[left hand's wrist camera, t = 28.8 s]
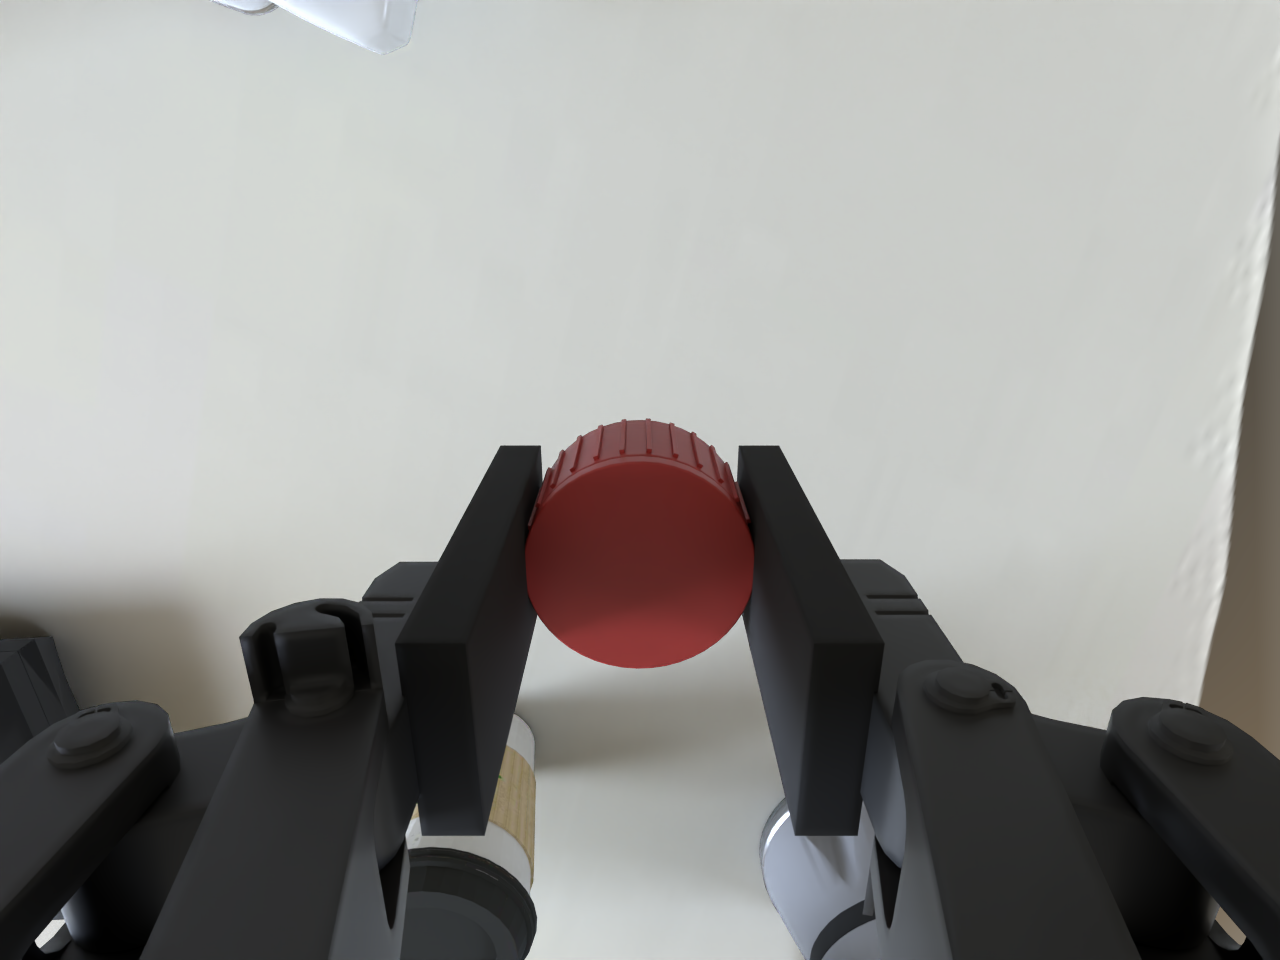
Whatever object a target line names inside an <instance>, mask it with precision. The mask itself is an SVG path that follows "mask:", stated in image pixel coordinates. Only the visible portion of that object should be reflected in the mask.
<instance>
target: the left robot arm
mask: <svg viewBox="0 0 1280 960" xmlns="http://www.w3.org/2000/svg"><path fill="white" fill-rule="evenodd" d="M737 482H738V484H739V487H740V490H741V493H742V496H743V499H744V502H745V505H746V508H747V512H748V515H749V518H750V521H751V523H748V527H749V530H750V533H751V536H752V540H753V543H754V568H753V584H752V593H751V596H750V599H749V601H748V603H747V605H746V607H745V609H744V611H743V613H742V616H743V620H744V625H745V629H746V633H747V637H748V641H749V646H750V650H751V654H752V658H753V662H754V667H755V671H756V675H757V679H758V683H759V688H760V692H761V696H762V700H763V704H764V709H765V713H766V717H767V721H768V725H769V730H770V734H771V738H772V742H773V746H774V751H775V755H776V759H777V763H778V767H779V772H780V776H781V780H782V784H783V788H784V793H785V798H784V799H783V800H782V801H781V802H780V803H779V805H778V806H777V807H776V808H775V809H774V811H773V812H772V814H771V815H770V817H769V819H768V821H767V823H766V825H765V827H764V830H763V832H762V836H761V841H760V862H761V867H762V873H763V879H764V883H765V887H766V889H767V892H768V894H769V896H770V899H771V901H772V903H773V905H774V906H775V908H776V910H777V912H778V913H779V914H780V916H781V918H782V920H783V922H784V923H785V925H786V927H787V929H788V931H789V932H790V934H791V936H792V938H793V939H794V941H795V943H796V945H797V946H798V948H799V950H800V951H801V953H802V955H803V956H804V958H805V960H1280V760H1279V759H1277V758H1276V757H1275V756H1274V755H1273V754H1272V753H1270V752H1269V751H1268V750H1267V749H1266V748H1264V747H1263V746H1262V745H1261V744H1260V743H1258V742H1257V741H1256V740H1255V739H1254V738H1253V737H1251V736H1250V735H1248V734H1247V733H1245V732H1244V731H1242V730H1241V729H1239V728H1238V727H1236V726H1235V725H1233V724H1232V723H1230V722H1229V721H1228V720H1226V719H1223V718H1221V717H1219V716H1217V715H1214V714H1212V713H1210V712H1208V711H1206V710H1204V709H1203V708H1200V707H1198V706H1194V705H1191V704H1188V703H1186V704H1185V703H1182V702H1181V701H1175V700H1170V699H1161V698H1149V697H1140V698H1135V699H1130V700H1125V701H1122V702H1121V703H1120V704H1119V705H1118V706H1117V707H1116V708H1114V709H1113V710H1112V713H1111V717H1110V721H1109V724H1108V728H1107V730H1102V729H1097V728H1092V727H1087V726H1082V725H1077V724H1072V723H1068V722H1063V721H1058V720H1053V719H1049V718H1045V717H1042V716H1038V715H1034V714H1031V712H1030V710H1029V708H1028V706H1027V704H1026V702H1025V700H1024V699H1023V698H1022V696H1021V695H1020V694H1019V692H1018V691H1017V690H1016V689H1015V687H1013V686H1012V685H1011V684H1009V683H1008V682H1006V681H1005V680H1004V679H1002V678H1001V677H999V676H998V675H996V674H994V673H992V672H990V671H987V670H985V669H982V668H980V667H978V666H975V665H973V664H968V663H964V662H963V661H962V660H961V658H960V657H959V655H958V654H957V652H956V651H955V649H954V648H953V646H952V645H951V643H950V642H949V640H948V639H947V637H946V636H945V635H944V633H943V632H942V630H941V629H940V627H939V626H938V624H937V623H936V621H935V620H934V618H933V617H932V615H929V614H928V609H927V608H926V607H925V605H924V604H923V602H922V601H921V599H918V595H917V593H916V592H915V590H914V589H913V587H912V586H911V584H910V583H909V582H908V580H907V579H906V577H905V576H904V575H903V574H901V573H900V572H898V571H897V570H895V569H894V568H892V567H891V566H889V565H888V564H886V563H885V562H883V561H882V560H880V559H839V557H838V555H837V553H836V551H835V549H834V548H833V546H832V544H831V542H830V540H829V538H828V536H827V534H826V533H825V531H824V529H823V527H822V525H821V523H820V521H819V520H818V518H817V516H816V514H815V512H814V510H813V508H812V506H811V505H810V503H809V501H808V499H807V497H806V495H805V493H804V492H803V490H802V488H801V486H800V484H799V482H798V480H797V478H796V477H795V475H794V473H793V471H792V469H791V467H790V465H789V464H788V462H787V460H786V458H785V456H784V454H783V452H782V450H781V449H780V447H779V446H739V452H738V472H737ZM542 484H543V481H542V462H541V446H500V448H499V450H498V451H497V453H496V455H495V457H494V459H493V461H492V463H491V464H490V466H489V468H488V470H487V472H486V474H485V476H484V478H483V479H482V481H481V483H480V485H479V487H478V489H477V491H476V492H475V494H474V496H473V498H472V500H471V502H470V504H469V506H468V507H467V509H466V511H465V513H464V515H463V517H462V519H461V520H460V522H459V524H458V526H457V528H456V530H455V532H454V534H453V535H452V537H451V539H450V541H449V543H448V545H447V547H446V548H445V550H444V552H443V554H442V556H441V558H440V560H439V562H399V563H397V564H396V565H394V566H393V567H391V568H390V569H388V570H387V571H385V572H384V573H382V574H381V575H379V576H378V577H376V578H375V579H374V581H373V582H372V584H371V585H370V587H369V588H368V590H367V591H366V593H365V594H364V596H363V597H362V601H360V602H359V603H358V602H354V601H350V600H347V599H315V600H309V601H303V602H298V603H294V604H291V605H288V606H285V607H283V608H280V609H277V610H274V611H271V612H270V613H268V614H266V615H265V616H263V617H261V618H260V619H258V620H256V621H255V622H253V623H251V624H250V626H249V627H248V628H247V629H246V630H245V631H244V632H243V633H242V634H241V636H240V637H239V639H240V643H241V647H242V652H243V656H244V660H245V665H246V669H247V674H248V678H249V682H250V687H251V691H252V695H253V700H254V705H253V707H252V709H251V712H250V714H249V716H248V717H247V718H243V719H239V720H235V721H232V722H228V723H223V724H219V725H214V726H209V727H204V728H199V729H194V730H189V731H184V732H180V733H175V734H174V733H173V730H172V726H171V723H170V719H169V716H168V713H167V712H165V711H164V710H163V709H162V708H161V707H160V706H159V705H157V704H153V703H148V702H143V701H138V700H137V701H125V702H113V703H108V704H103V705H98V706H97V707H91V708H88V709H85V710H81V711H79V712H77V713H76V714H74V715H72V716H69V717H67V718H65V719H63V720H61V721H58V722H56V723H54V724H52V725H51V726H49V727H48V728H46V729H45V730H44V731H42V732H41V733H39V734H38V735H36V736H35V737H33V738H32V739H30V740H29V741H28V742H26V743H25V744H24V745H23V746H22V747H21V748H19V749H18V750H17V751H16V752H15V753H14V754H12V755H11V756H10V757H9V758H8V759H6V760H5V761H4V762H3V763H2V764H1V765H0V960H400V954H401V945H402V936H403V927H404V918H405V909H406V900H407V891H408V882H409V873H410V862H409V855H408V848H407V841H406V835H405V834H406V832H407V829H408V826H409V823H410V820H411V818H412V815H413V812H414V809H415V807H416V804H417V805H418V812H419V820H420V827H421V834H422V836H485V832H486V828H487V824H488V820H489V816H490V811H491V807H492V803H493V799H494V795H495V791H496V786H497V782H498V778H499V774H500V770H501V765H502V761H503V757H504V753H505V749H506V744H507V740H508V736H509V732H510V728H511V723H512V719H513V715H514V711H515V707H516V702H517V698H518V694H519V690H520V686H521V681H522V677H523V673H524V669H525V665H526V660H527V656H528V652H529V648H530V644H531V639H532V635H533V631H534V627H535V623H536V618H537V613H536V611H535V609H534V608H533V606H532V603H531V601H530V598H529V596H528V591H527V576H526V560H525V543H526V539H527V536H528V533H529V530H528V523H529V520H530V517H531V514H532V511H533V508H534V505H535V502H536V499H537V496H538V493H539V490H540V487H542ZM1220 906H1221V908H1222V909H1223V910H1224V911H1225V912H1226V913H1227V915H1228V916H1229V917H1230V918H1231V919H1232V920H1233V922H1234V923H1235V924H1236V925H1237V926H1238V927H1239V928H1240V930H1241V931H1242V932H1243V933H1244V934H1245V935H1246V939H1245V941H1244V943H1243V944H1242V945H1239V944H1238V943H1237V942H1235V941H1234V940H1233V939H1232V938H1231V937H1230V936H1229V935H1228V934H1227V933H1226V932H1225V931H1224V929H1223V928H1222V927H1221V926H1220V925H1219V923H1218V922H1217V921H1216V920H1215V918H1216V915H1217V913H1218V910H1219V908H1220ZM60 910H61V912H62V914H63V917H64V919H65V924H64V925H63V926H62V927H61V928H60V929H59V931H58V932H57V933H56V934H55V935H54V937H53V938H51V939H50V940H49V941H48V942H47V943H46V944H45V945H43V946H42V947H41V948H39V947H37V945H36V943H35V939H36V938H37V937H38V936H39V935H40V934H41V932H42V931H43V930H44V929H45V928H46V927H47V925H48V924H49V923H50V922H51V921H52V920H53V918H54V917H55V916H56V915H57V914H58V913H59V911H60Z"/></svg>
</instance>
